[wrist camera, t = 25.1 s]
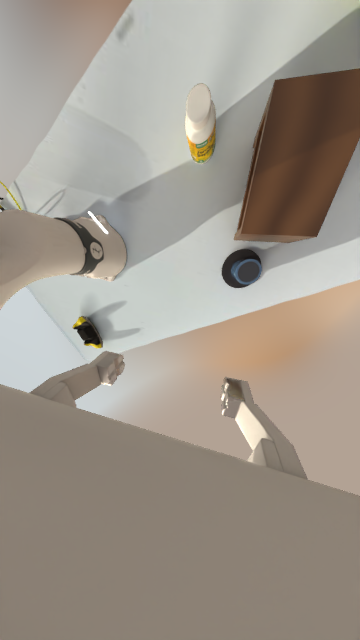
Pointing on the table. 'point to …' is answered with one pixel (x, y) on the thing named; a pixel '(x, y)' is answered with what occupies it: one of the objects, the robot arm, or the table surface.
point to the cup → (246, 270)
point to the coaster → (229, 263)
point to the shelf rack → (300, 156)
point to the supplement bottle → (200, 123)
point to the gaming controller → (88, 332)
